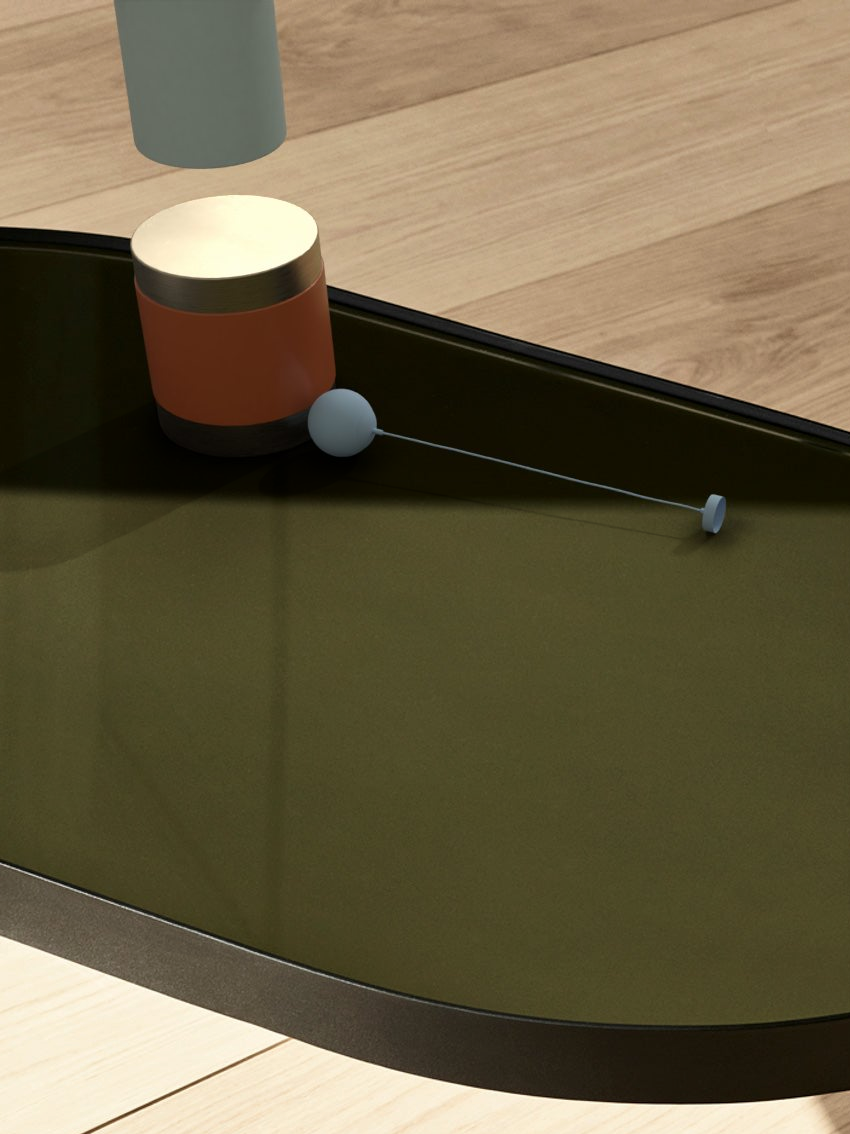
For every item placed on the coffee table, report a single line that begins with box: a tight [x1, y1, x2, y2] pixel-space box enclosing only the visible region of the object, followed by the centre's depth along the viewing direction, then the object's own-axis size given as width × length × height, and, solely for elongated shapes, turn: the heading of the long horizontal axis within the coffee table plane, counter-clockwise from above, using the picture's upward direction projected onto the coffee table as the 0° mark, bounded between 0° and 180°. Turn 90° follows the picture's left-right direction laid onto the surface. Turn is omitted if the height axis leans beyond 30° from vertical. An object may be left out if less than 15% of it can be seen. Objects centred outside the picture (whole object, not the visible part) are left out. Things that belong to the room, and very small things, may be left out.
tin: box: [129, 194, 337, 458], centre depth 106 cm, size 9×9×9 cm
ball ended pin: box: [308, 388, 727, 534], centre depth 103 cm, size 3×20×3 cm, turn 69°
